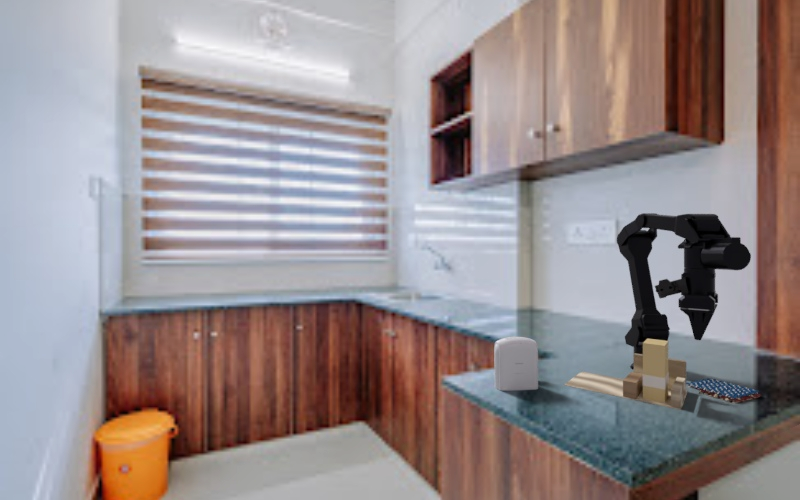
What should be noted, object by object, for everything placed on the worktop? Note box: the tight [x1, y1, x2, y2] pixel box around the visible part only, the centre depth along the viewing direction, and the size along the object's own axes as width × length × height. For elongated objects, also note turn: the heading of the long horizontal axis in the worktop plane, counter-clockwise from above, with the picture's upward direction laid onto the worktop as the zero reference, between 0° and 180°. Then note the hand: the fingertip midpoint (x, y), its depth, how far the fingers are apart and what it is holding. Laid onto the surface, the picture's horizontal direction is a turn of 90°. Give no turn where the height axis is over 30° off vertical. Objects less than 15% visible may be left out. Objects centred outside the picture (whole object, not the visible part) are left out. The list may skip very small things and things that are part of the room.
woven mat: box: [686, 378, 762, 404], centre depth 92 cm, size 10×11×2 cm
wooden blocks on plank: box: [563, 353, 688, 411], centre depth 93 cm, size 14×23×8 cm, turn 50°
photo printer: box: [493, 336, 539, 392], centre depth 94 cm, size 10×4×12 cm, turn 96°
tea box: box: [643, 338, 669, 403], centre depth 88 cm, size 6×4×12 cm
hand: (699, 336), depth 91 cm, fingers open, 9 cm apart
